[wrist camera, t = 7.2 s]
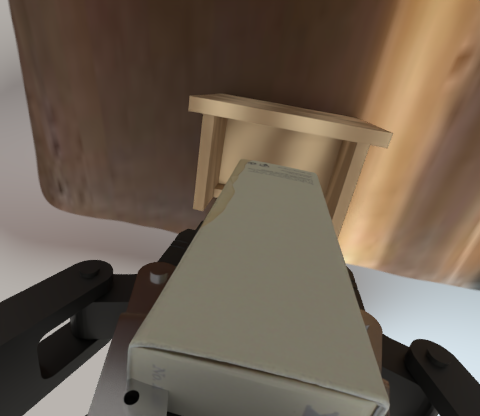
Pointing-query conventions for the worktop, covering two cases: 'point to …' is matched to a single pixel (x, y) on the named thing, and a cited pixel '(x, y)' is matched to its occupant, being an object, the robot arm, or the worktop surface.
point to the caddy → (282, 145)
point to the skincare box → (261, 310)
